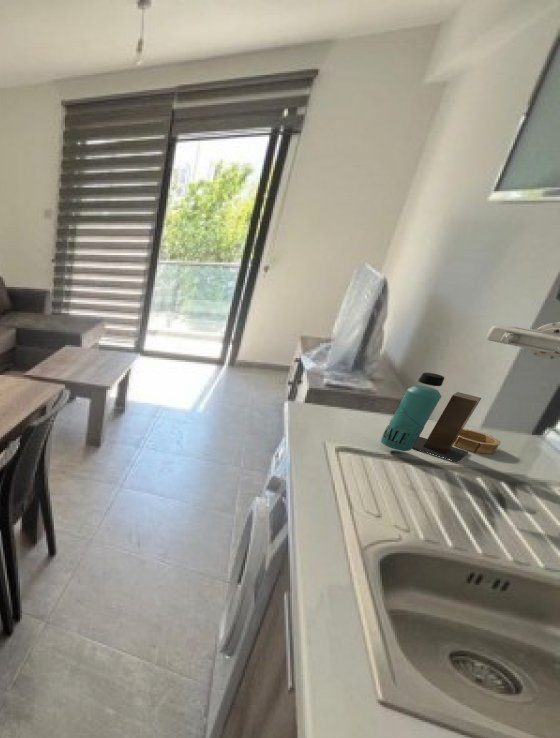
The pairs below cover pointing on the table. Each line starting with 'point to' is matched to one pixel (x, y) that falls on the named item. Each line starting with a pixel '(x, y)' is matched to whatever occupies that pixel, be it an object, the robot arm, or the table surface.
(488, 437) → the ring stand
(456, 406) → the peg
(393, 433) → the beverage bottle
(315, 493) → the table surface
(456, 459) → the mat
